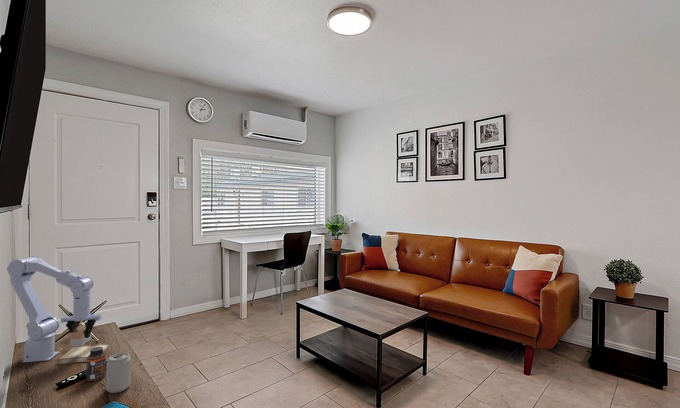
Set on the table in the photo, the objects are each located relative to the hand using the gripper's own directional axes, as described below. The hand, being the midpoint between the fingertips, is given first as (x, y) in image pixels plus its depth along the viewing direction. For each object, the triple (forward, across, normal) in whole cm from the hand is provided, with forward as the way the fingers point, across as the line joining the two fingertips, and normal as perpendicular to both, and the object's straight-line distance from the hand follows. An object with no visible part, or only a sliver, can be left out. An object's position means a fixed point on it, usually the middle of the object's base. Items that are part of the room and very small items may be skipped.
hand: (81, 337), depth 147 cm
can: (+9, +25, -30) cm, 40 cm away
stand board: (+9, +1, +2) cm, 9 cm away
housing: (+2, 0, 0) cm, 2 cm away
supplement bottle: (+9, +14, -21) cm, 26 cm away
